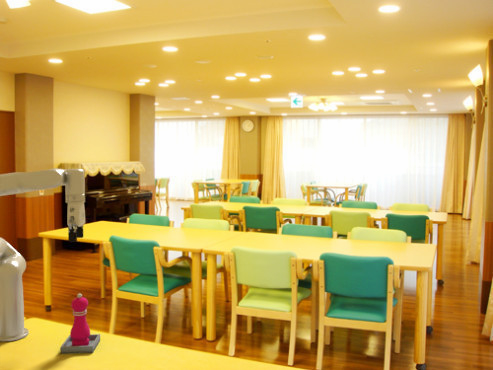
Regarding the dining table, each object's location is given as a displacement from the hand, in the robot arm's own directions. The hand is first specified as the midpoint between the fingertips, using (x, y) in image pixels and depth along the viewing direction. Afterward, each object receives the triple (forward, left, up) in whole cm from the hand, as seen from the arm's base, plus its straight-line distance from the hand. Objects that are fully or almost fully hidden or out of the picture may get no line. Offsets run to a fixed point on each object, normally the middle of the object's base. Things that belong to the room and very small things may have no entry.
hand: (76, 239), depth 196 cm
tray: (+6, -18, -38) cm, 43 cm away
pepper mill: (+6, -18, -38) cm, 42 cm away
